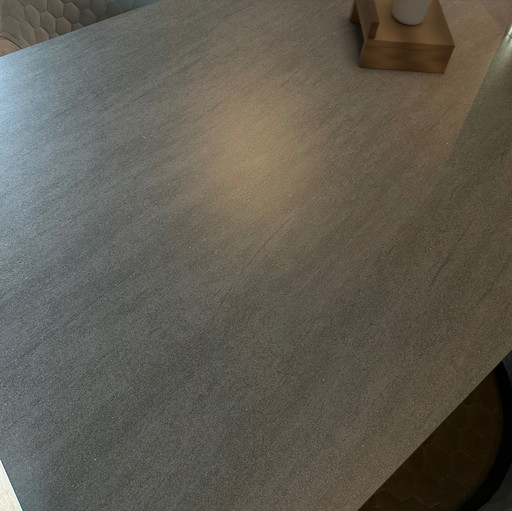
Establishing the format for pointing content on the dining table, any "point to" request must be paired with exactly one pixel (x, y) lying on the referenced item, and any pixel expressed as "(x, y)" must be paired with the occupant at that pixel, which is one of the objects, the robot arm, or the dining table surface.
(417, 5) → the drinking glass
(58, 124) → the dining table surface
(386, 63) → the tan wooden box
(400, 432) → the dining table surface
